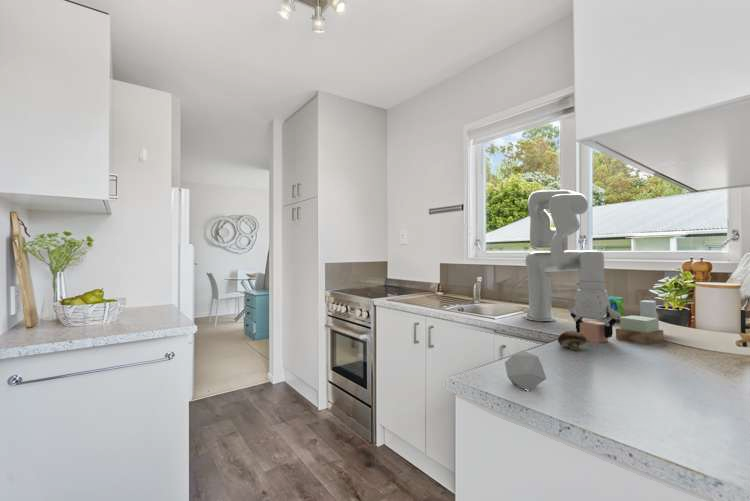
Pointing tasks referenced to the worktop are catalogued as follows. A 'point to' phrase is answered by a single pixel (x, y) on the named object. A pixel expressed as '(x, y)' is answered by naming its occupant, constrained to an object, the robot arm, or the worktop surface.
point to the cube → (593, 331)
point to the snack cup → (616, 305)
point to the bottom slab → (640, 336)
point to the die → (525, 370)
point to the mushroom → (572, 340)
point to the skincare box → (648, 309)
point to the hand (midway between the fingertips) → (593, 334)
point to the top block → (639, 323)
